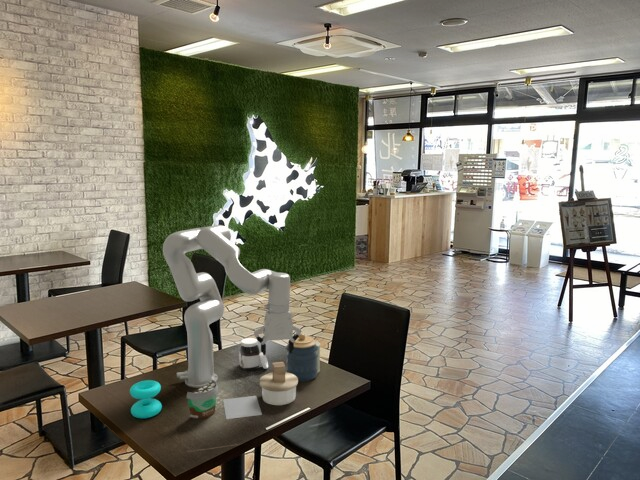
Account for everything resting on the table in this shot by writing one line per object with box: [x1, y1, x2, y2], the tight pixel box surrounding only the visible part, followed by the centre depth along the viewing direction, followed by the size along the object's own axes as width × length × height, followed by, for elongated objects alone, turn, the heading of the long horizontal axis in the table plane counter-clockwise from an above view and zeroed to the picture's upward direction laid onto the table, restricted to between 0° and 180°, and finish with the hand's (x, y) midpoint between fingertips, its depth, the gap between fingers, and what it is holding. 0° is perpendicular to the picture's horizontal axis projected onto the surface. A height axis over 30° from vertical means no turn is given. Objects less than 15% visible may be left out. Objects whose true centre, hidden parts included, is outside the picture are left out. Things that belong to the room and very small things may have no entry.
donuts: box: [129, 379, 163, 419], centre depth 164 cm, size 10×10×10 cm
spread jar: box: [238, 337, 269, 371], centre depth 201 cm, size 12×11×12 cm
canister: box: [285, 332, 319, 382], centre depth 194 cm, size 13×13×18 cm
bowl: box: [261, 386, 297, 406], centre depth 176 cm, size 12×12×6 cm
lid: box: [259, 361, 299, 392], centre depth 174 cm, size 14×14×7 cm
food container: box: [185, 380, 219, 420], centre depth 163 cm, size 12×6×10 cm, turn 148°
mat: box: [222, 395, 263, 420], centre depth 168 cm, size 12×14×1 cm
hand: (277, 352), depth 174 cm, fingers open, 9 cm apart
